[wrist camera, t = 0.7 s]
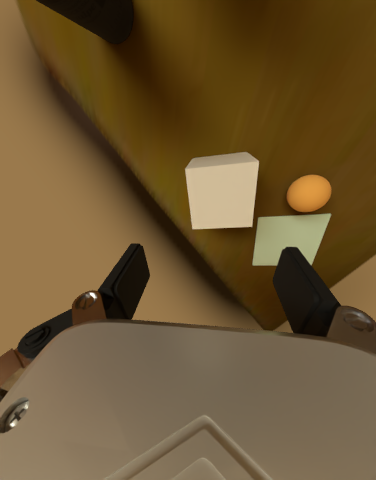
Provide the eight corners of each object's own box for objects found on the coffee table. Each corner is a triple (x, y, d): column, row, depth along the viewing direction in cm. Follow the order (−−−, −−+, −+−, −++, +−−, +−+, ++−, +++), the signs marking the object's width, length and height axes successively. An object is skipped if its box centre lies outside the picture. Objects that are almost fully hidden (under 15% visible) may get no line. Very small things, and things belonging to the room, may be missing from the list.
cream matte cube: (246, 151, 23) (258, 161, 17) (243, 203, 27) (252, 226, 21) (192, 158, 25) (185, 169, 18) (197, 206, 29) (192, 229, 22)
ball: (323, 169, 23) (347, 178, 19) (313, 203, 26) (331, 217, 22) (285, 172, 24) (299, 182, 20) (279, 205, 27) (290, 219, 23)
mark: (330, 213, 27) (331, 214, 26) (310, 264, 33) (311, 265, 32) (258, 217, 28) (258, 217, 28) (252, 264, 34) (252, 265, 34)
